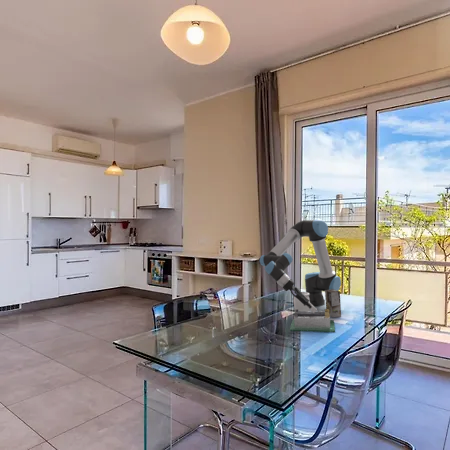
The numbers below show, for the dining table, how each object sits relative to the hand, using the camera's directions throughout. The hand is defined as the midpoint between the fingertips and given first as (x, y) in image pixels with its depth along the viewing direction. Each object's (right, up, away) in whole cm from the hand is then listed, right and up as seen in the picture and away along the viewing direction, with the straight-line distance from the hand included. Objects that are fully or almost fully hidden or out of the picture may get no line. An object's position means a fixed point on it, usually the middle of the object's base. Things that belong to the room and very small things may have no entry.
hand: (315, 311), depth 207 cm
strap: (-2, -2, +1) cm, 3 cm away
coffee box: (+17, -8, +21) cm, 29 cm away
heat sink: (-1, -9, +1) cm, 9 cm away
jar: (-2, -9, +24) cm, 26 cm away
